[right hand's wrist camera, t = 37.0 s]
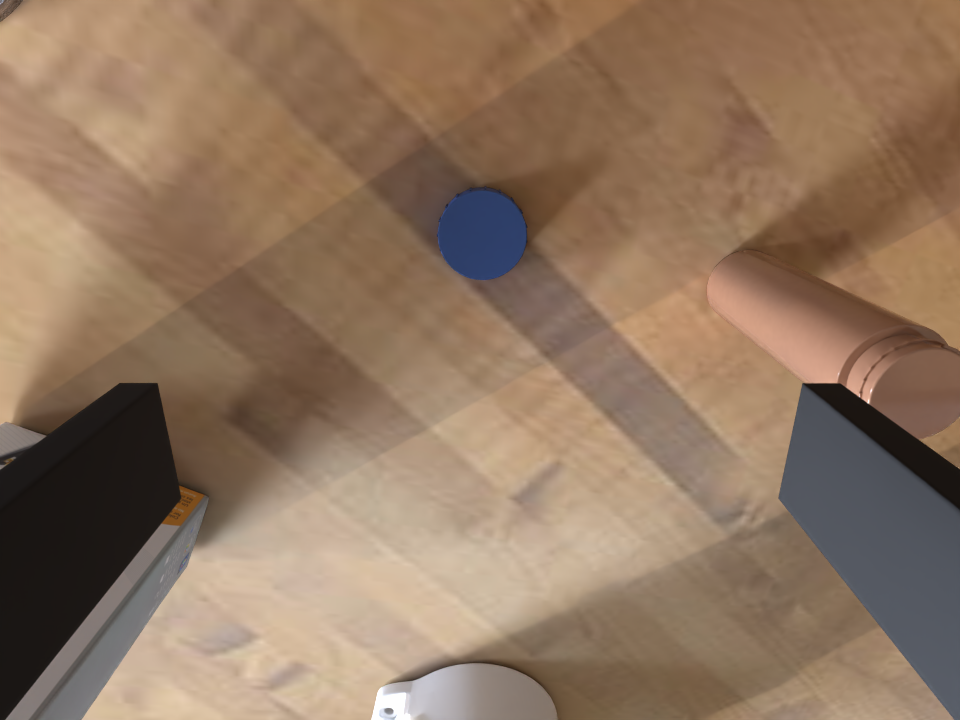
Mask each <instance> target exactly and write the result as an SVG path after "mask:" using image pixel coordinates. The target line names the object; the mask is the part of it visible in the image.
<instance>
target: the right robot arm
mask: <svg viewBox="0 0 960 720" xmlns="http://www.w3.org/2000/svg"><path fill="white" fill-rule="evenodd" d="M21 2H22V0H0V22H1V21H2V20H3V19H4V18H6V17H7V16H8V15H9V14H11V13H12V12H13V11H14V10H15V9H16V8H17V6H18V5H19V4H20V3H21ZM180 500H181V493H180V488H179V483H178V479H177V474H176V469H175V464H174V460H173V455H172V450H171V445H170V441H169V436H168V431H167V426H166V422H165V417H164V412H163V407H162V403H161V398H160V393H159V388H158V384H157V383H119V384H118V385H117V386H115V387H114V388H112V389H111V390H110V391H108V392H107V393H106V394H104V395H103V396H101V397H100V398H99V399H97V400H96V401H94V402H93V403H92V404H90V405H89V406H88V407H86V408H85V409H83V410H82V411H81V412H79V413H78V414H76V415H75V416H74V417H72V418H71V419H70V420H68V421H67V422H65V423H64V424H63V425H61V426H60V427H58V428H57V429H56V430H54V431H53V432H52V433H50V434H49V435H47V436H46V437H45V438H43V439H42V440H40V441H39V442H38V443H36V444H35V445H34V446H32V447H31V448H29V449H28V450H27V451H25V452H24V453H22V454H21V455H20V456H18V457H17V458H16V459H14V460H13V461H11V462H10V463H9V464H7V465H6V466H4V467H3V468H2V469H0V720H6V718H7V717H8V716H9V715H10V713H11V712H12V711H13V710H14V708H15V707H16V706H17V705H18V703H19V702H20V701H21V700H22V698H23V697H24V696H25V695H26V693H27V692H28V691H29V690H30V688H31V687H32V686H33V684H34V683H35V682H36V681H37V679H38V678H39V677H40V676H41V674H42V673H43V672H44V671H45V669H46V668H47V667H48V666H49V664H50V663H51V662H52V661H53V659H54V658H55V657H56V656H57V654H58V653H59V652H60V651H61V649H62V648H63V647H64V646H65V644H66V643H67V642H68V640H69V639H70V638H71V637H72V635H73V634H74V633H75V632H76V630H77V629H78V628H79V627H80V625H81V624H82V623H83V622H84V620H85V619H86V618H87V617H88V615H89V614H90V613H91V612H92V610H93V609H94V608H95V607H96V605H97V604H98V603H99V601H100V600H101V599H102V598H103V596H104V595H105V594H106V593H107V591H108V590H109V589H110V588H111V586H112V585H113V584H114V583H115V581H116V580H117V579H118V578H119V576H120V575H121V574H122V573H123V571H124V570H125V569H126V568H127V566H128V565H129V564H130V563H131V561H132V560H133V559H134V557H135V556H136V555H137V554H138V552H139V551H140V550H141V549H142V547H143V546H144V545H145V544H146V542H147V541H148V540H149V539H150V537H151V536H152V535H153V534H154V532H155V531H156V530H157V529H158V527H159V526H160V525H161V524H162V522H163V521H164V520H165V518H166V517H167V516H168V515H169V513H170V512H171V511H172V510H173V508H174V507H175V506H176V505H177V503H178V502H179V501H180ZM779 500H780V501H781V502H782V503H783V505H784V506H785V507H786V508H787V510H788V511H789V512H790V513H791V515H792V516H793V517H794V518H795V520H796V521H797V522H798V524H799V525H800V526H801V527H802V529H803V530H804V531H805V532H806V534H807V535H808V536H809V537H810V539H811V540H812V541H813V542H814V544H815V545H816V546H817V547H818V549H819V550H820V551H821V552H822V554H823V555H824V556H825V557H826V559H827V560H828V561H829V563H830V564H831V565H832V566H833V568H834V569H835V570H836V571H837V573H838V574H839V575H840V576H841V578H842V579H843V580H844V581H845V583H846V584H847V585H848V586H849V588H850V589H851V590H852V591H853V593H854V594H855V595H856V596H857V598H858V599H859V600H860V601H861V603H862V604H863V605H864V607H865V608H866V609H867V610H868V612H869V613H870V614H871V615H872V617H873V618H874V619H875V620H876V622H877V623H878V624H879V625H880V627H881V628H882V629H883V630H884V632H885V633H886V634H887V635H888V637H889V638H890V639H891V640H892V642H893V643H894V644H895V646H896V647H897V648H898V649H899V651H900V652H901V653H902V654H903V656H904V657H905V658H906V659H907V661H908V662H909V663H910V664H911V666H912V667H913V668H914V669H915V671H916V672H917V673H918V674H919V676H920V677H921V678H922V679H923V681H924V682H925V683H926V684H927V686H928V687H929V688H930V690H931V691H932V692H933V693H934V695H935V696H936V697H937V698H938V700H939V701H940V702H941V703H942V705H943V706H944V707H945V708H946V710H947V711H948V712H949V713H950V715H951V716H952V717H953V718H954V720H960V469H958V468H957V467H956V466H954V465H953V464H951V463H950V462H949V461H947V460H946V459H944V458H943V457H942V456H940V455H939V454H938V453H936V452H935V451H933V450H932V449H931V448H929V447H928V446H926V445H925V444H924V443H922V442H921V441H920V440H918V439H917V438H915V437H914V436H913V435H911V434H910V433H908V432H907V431H906V430H904V429H903V428H902V427H900V426H899V425H897V424H896V423H895V422H893V421H892V420H890V419H889V418H888V417H886V416H885V415H884V414H882V413H881V412H879V411H878V410H877V409H875V408H874V407H872V406H871V405H870V404H868V403H867V402H866V401H864V400H863V399H861V398H860V397H859V396H857V395H856V394H854V393H853V392H852V391H850V390H849V389H848V388H846V387H845V386H843V385H842V384H841V383H803V384H802V388H801V393H800V398H799V403H798V407H797V412H796V417H795V422H794V426H793V431H792V436H791V441H790V445H789V450H788V455H787V460H786V464H785V469H784V474H783V479H782V483H781V488H780V493H779Z"/></svg>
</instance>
